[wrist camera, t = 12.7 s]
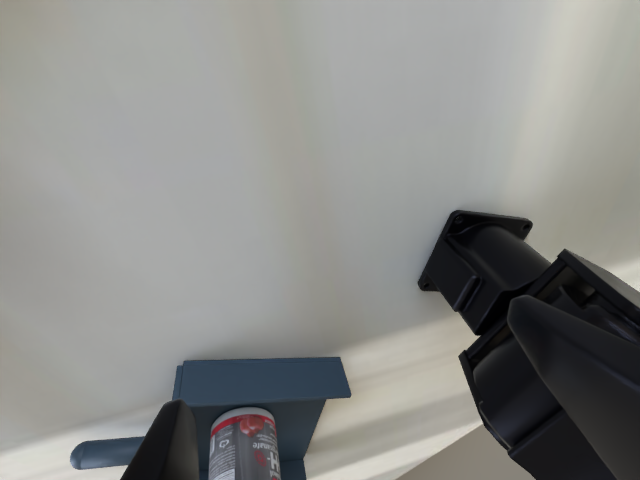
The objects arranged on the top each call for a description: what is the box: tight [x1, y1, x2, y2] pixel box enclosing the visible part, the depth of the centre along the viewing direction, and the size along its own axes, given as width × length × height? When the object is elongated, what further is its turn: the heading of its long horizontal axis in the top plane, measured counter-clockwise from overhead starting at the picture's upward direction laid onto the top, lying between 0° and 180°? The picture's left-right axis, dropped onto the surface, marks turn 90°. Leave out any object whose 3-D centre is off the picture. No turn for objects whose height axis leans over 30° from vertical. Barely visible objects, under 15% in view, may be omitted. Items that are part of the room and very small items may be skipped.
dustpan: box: [70, 357, 351, 480], centre depth 28 cm, size 19×16×3 cm
